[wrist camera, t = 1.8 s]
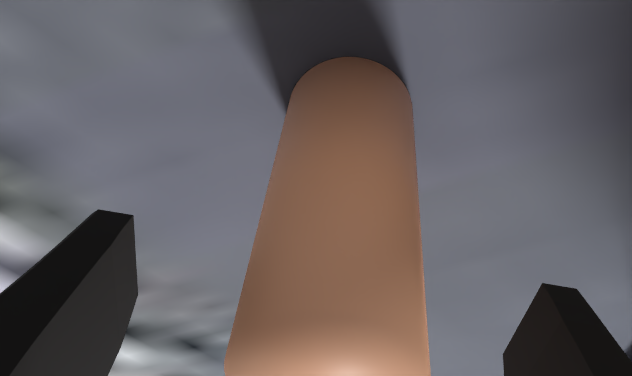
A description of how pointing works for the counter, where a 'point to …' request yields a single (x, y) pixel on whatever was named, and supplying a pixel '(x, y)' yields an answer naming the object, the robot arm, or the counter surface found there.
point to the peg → (338, 236)
